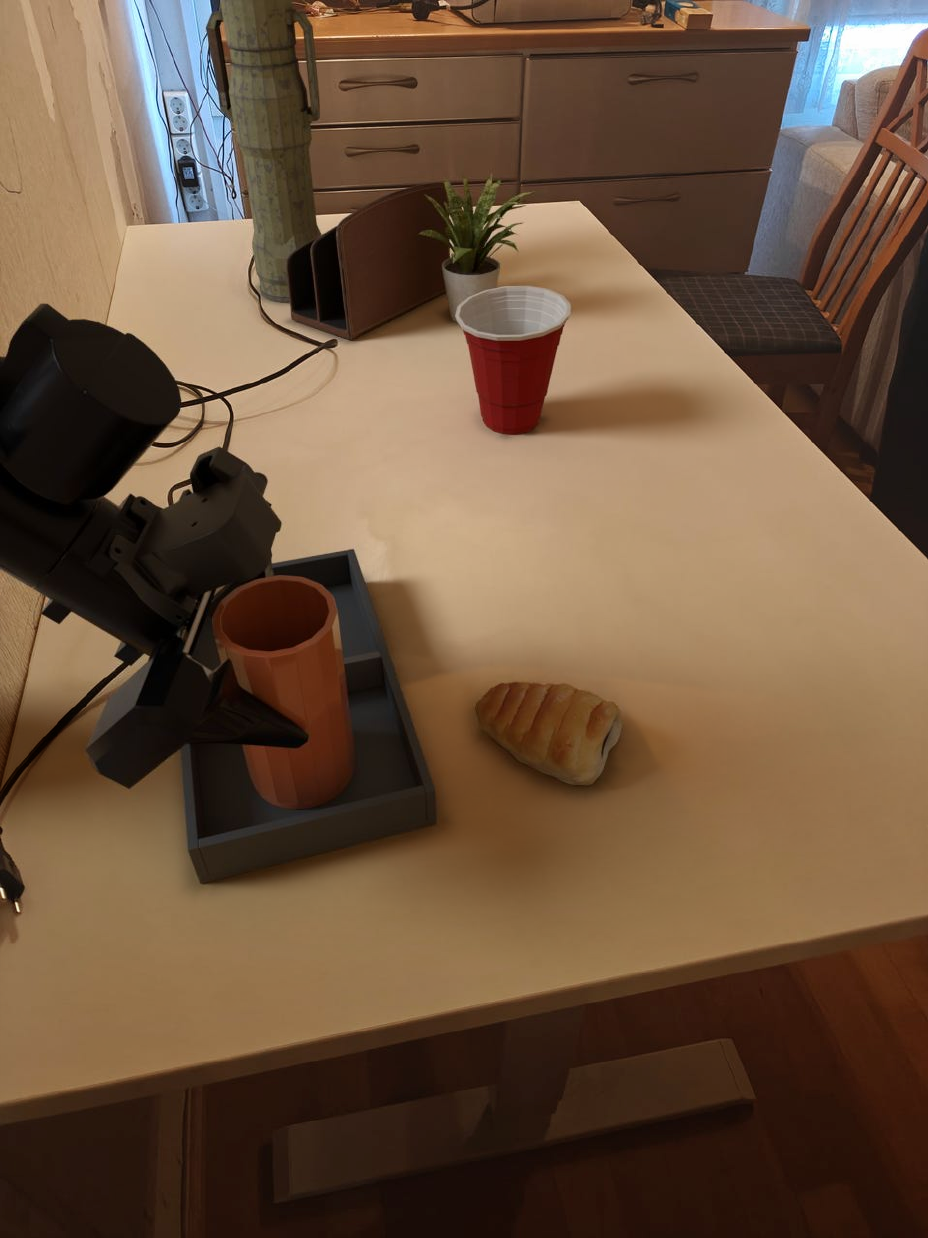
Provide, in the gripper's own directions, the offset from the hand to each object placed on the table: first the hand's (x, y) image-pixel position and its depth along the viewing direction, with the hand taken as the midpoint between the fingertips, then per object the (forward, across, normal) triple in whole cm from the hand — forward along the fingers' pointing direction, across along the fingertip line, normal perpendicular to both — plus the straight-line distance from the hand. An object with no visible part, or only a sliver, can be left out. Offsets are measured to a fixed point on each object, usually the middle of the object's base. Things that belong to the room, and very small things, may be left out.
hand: (313, 696), depth 50 cm
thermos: (-6, +79, +16) cm, 81 cm away
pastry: (+16, +3, -5) cm, 17 cm away
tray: (+3, +6, +7) cm, 10 cm away
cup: (+4, 0, +6) cm, 7 cm away
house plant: (+11, +70, -1) cm, 71 cm away
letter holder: (+2, +74, +8) cm, 75 cm away
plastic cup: (+14, +45, -4) cm, 48 cm away
